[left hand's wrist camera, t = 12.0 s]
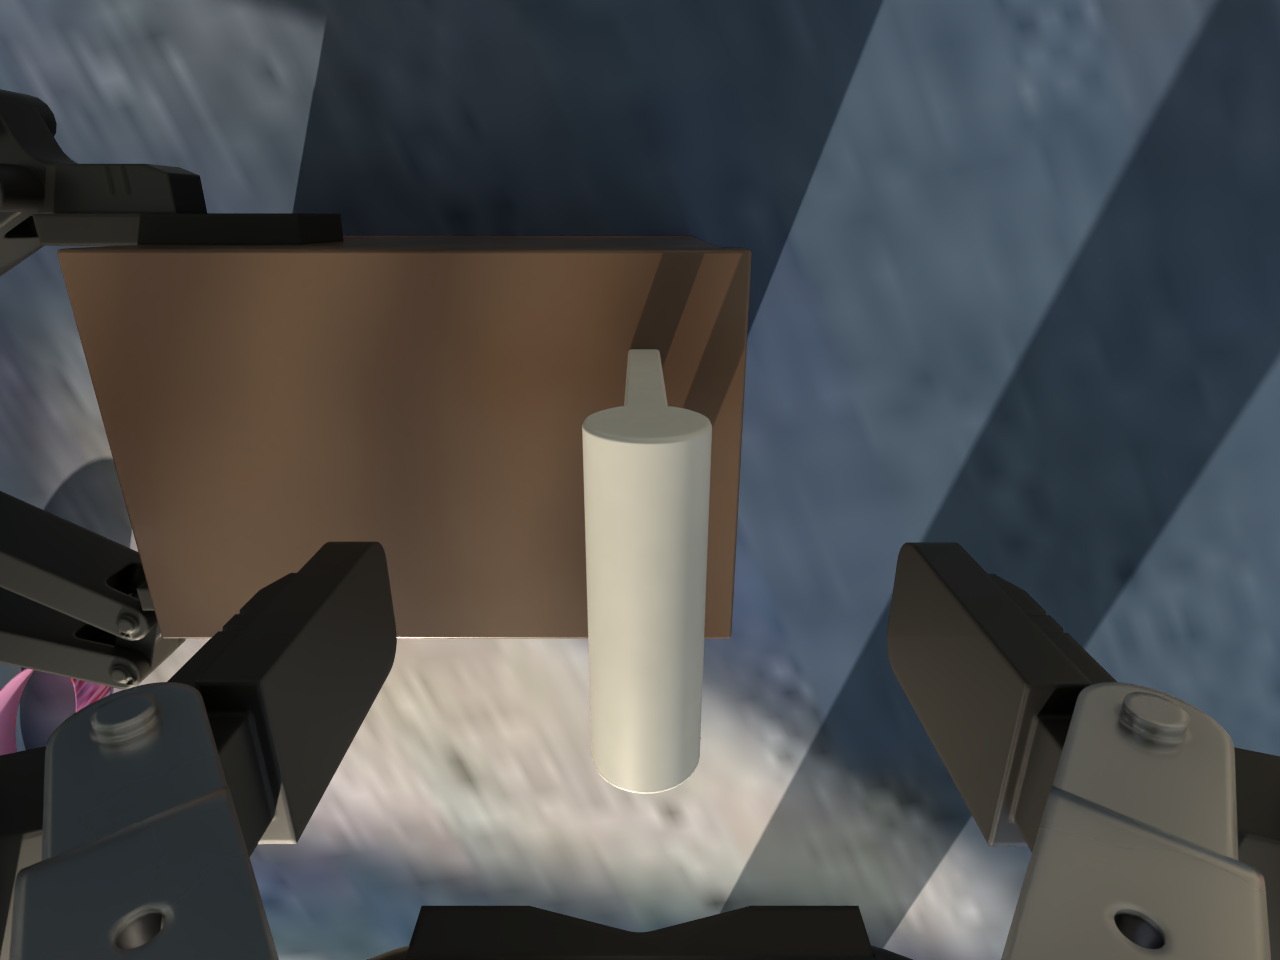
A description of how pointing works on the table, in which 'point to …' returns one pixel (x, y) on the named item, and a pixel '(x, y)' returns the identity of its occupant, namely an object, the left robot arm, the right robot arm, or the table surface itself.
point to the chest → (490, 242)
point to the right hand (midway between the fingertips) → (349, 418)
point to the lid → (443, 446)
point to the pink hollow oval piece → (5, 702)
